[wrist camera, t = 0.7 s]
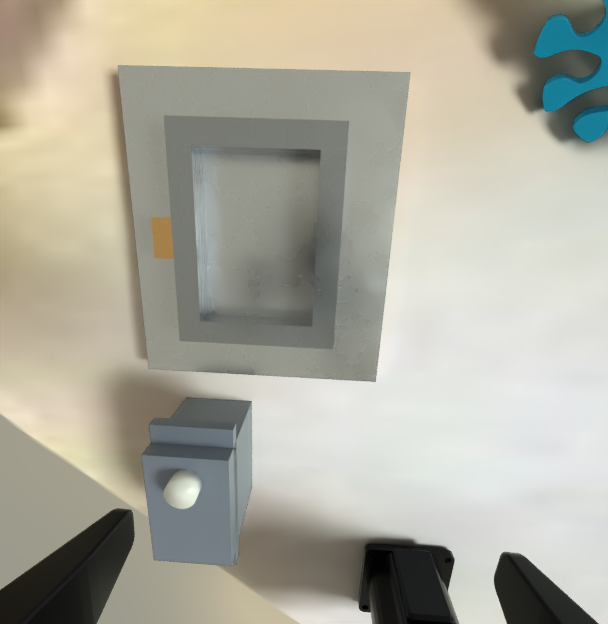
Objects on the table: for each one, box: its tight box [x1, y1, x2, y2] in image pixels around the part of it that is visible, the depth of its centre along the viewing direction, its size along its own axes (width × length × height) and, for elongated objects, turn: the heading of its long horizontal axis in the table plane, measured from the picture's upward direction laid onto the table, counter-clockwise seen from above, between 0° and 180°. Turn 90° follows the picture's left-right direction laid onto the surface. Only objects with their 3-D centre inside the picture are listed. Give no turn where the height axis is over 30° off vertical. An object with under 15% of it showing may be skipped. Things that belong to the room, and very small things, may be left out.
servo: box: [141, 398, 252, 566], centre depth 18 cm, size 9×4×6 cm, turn 178°
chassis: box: [118, 65, 410, 382], centre depth 16 cm, size 16×14×2 cm
